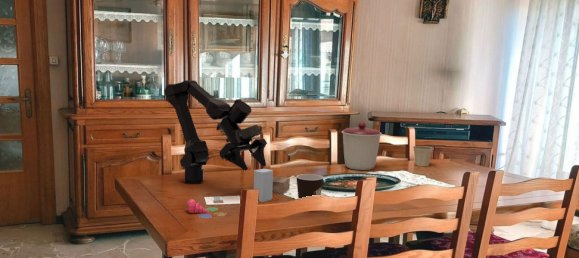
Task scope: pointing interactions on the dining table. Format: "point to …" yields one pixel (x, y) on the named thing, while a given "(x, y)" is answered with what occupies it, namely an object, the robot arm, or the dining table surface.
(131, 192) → the dining table surface
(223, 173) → the dining table surface
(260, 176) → the tall brick
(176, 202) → the dining table surface
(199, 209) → the toy pieces
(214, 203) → the page
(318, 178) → the coffee mug
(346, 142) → the canister
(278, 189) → the base block
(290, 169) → the dining table surface
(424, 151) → the flower pot
